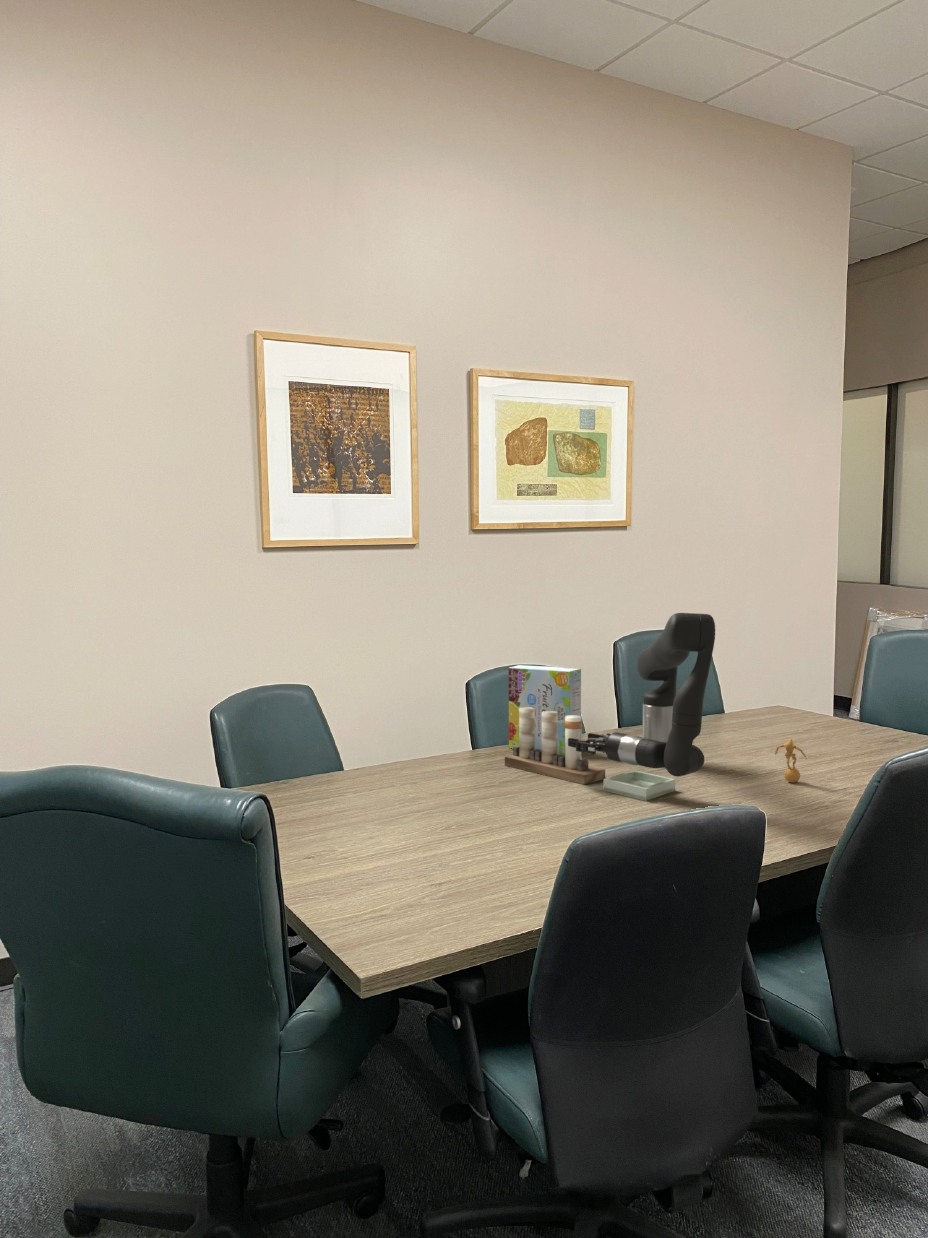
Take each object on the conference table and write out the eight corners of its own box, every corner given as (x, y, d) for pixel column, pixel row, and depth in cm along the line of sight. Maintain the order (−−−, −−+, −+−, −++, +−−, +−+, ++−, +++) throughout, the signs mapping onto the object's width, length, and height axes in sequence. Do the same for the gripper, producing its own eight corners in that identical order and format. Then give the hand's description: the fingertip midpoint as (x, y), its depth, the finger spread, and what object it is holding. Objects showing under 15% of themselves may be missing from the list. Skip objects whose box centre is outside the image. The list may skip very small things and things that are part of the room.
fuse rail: (525, 760, 258) (525, 704, 257) (605, 778, 237) (605, 718, 236) (504, 765, 252) (504, 708, 250) (584, 784, 231) (584, 722, 229)
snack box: (582, 751, 268) (583, 668, 266) (570, 757, 261) (570, 671, 259) (520, 743, 280) (520, 663, 278) (507, 748, 273) (506, 666, 271)
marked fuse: (571, 764, 242) (572, 714, 241) (585, 767, 239) (585, 716, 238) (561, 767, 239) (561, 716, 238) (574, 770, 236) (574, 719, 235)
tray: (633, 781, 234) (633, 770, 234) (675, 790, 225) (675, 779, 224) (603, 790, 225) (603, 779, 225) (645, 801, 216) (646, 789, 215)
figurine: (810, 783, 231) (811, 738, 230) (802, 788, 226) (803, 742, 225) (779, 778, 236) (780, 734, 235) (770, 783, 231) (771, 738, 230)
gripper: (644, 730, 230) (594, 722, 242) (611, 739, 220) (561, 729, 232) (644, 758, 231) (594, 748, 242) (611, 768, 221) (561, 757, 233)
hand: (578, 739), depth 237 cm, fingers open, 8 cm apart
